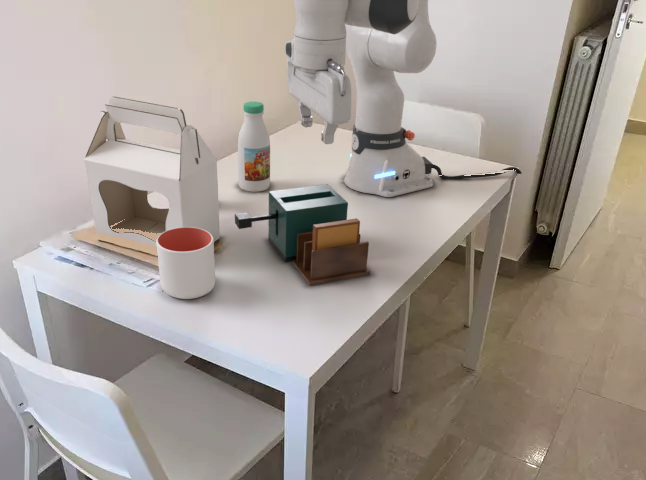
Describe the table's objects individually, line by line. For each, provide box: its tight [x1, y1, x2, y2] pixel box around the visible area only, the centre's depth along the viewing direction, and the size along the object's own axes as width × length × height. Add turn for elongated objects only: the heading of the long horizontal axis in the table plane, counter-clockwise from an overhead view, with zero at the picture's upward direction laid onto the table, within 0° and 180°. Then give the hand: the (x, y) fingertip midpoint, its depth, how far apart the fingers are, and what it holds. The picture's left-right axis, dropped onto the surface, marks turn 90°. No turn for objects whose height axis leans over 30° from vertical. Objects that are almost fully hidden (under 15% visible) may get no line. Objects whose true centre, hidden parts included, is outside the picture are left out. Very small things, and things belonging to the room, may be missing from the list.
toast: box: [312, 218, 361, 250], centre depth 126 cm, size 9×1×10 cm, turn 112°
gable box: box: [84, 96, 221, 247], centre depth 130 cm, size 22×13×28 cm, turn 65°
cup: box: [156, 227, 216, 300], centre depth 120 cm, size 10×10×10 cm
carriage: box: [234, 211, 278, 230], centre depth 132 cm, size 20×3×2 cm, turn 112°
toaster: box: [267, 183, 349, 263], centre depth 135 cm, size 13×11×11 cm
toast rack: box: [291, 231, 371, 286], centre depth 128 cm, size 13×9×7 cm
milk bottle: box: [237, 101, 271, 192], centre depth 157 cm, size 8×8×20 cm
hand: (316, 134), depth 120 cm, fingers open, 8 cm apart
